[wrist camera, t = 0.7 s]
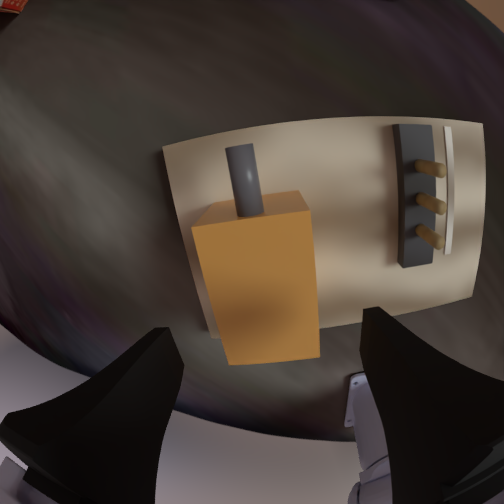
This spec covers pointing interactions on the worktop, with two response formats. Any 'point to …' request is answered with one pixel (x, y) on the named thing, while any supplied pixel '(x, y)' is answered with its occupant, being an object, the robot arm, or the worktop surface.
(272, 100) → the worktop surface
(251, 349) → the socket block
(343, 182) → the board
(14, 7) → the medicine box
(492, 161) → the worktop surface
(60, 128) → the worktop surface
